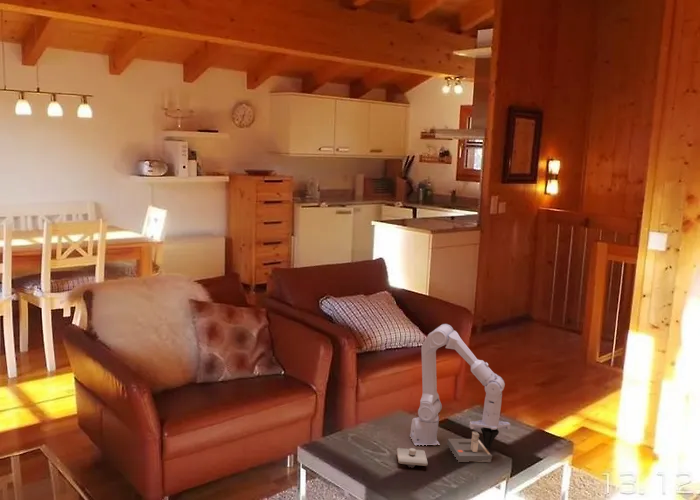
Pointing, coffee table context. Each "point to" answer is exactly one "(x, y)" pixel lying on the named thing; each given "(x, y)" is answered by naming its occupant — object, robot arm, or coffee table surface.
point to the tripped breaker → (474, 445)
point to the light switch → (411, 457)
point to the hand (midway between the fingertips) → (487, 447)
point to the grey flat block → (468, 450)
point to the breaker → (475, 435)
